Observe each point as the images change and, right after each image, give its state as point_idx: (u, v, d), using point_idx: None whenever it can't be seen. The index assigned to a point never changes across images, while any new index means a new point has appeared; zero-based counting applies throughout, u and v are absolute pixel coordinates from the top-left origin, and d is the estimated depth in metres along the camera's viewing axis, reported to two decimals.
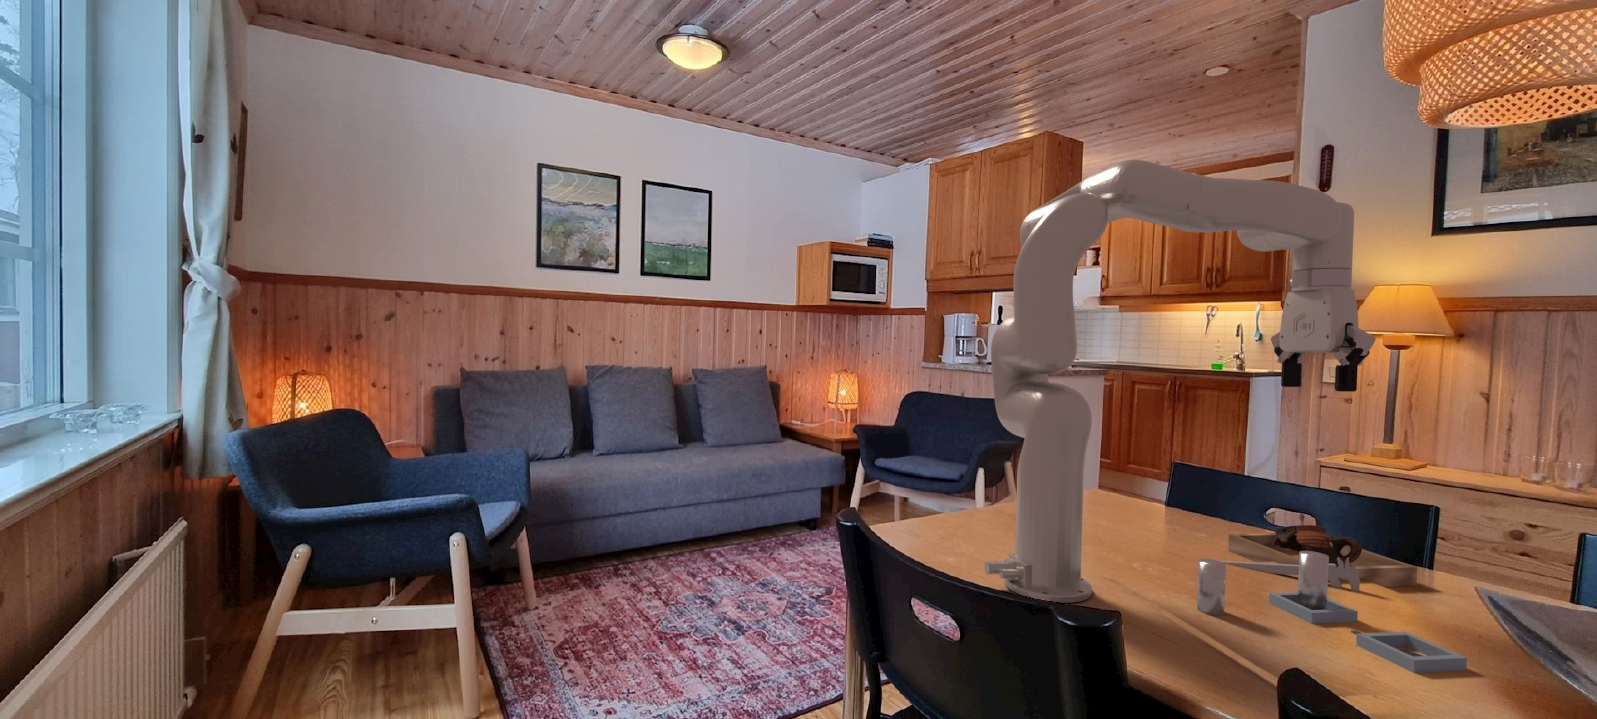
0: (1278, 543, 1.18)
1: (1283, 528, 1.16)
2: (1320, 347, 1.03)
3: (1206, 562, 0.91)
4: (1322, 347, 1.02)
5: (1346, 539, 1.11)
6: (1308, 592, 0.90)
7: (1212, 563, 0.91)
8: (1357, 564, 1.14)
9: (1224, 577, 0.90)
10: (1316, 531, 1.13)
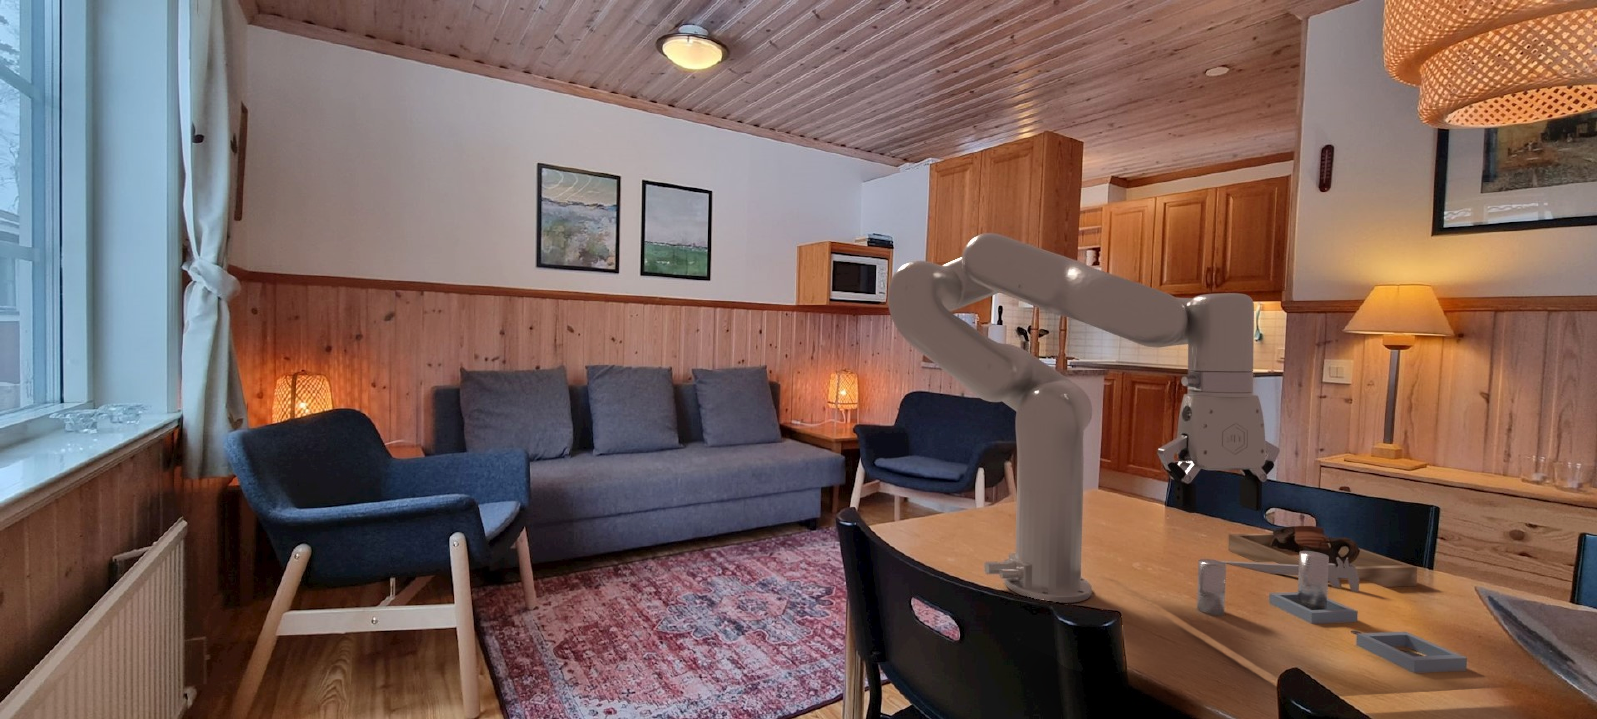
0: (1276, 544, 1.18)
1: (1281, 529, 1.15)
2: (1255, 464, 0.88)
3: (1206, 562, 0.91)
4: (1257, 463, 0.88)
5: (1344, 539, 1.10)
6: (1308, 592, 0.90)
7: (1212, 563, 0.91)
8: (1357, 564, 1.14)
9: (1224, 577, 0.90)
10: (1314, 532, 1.13)
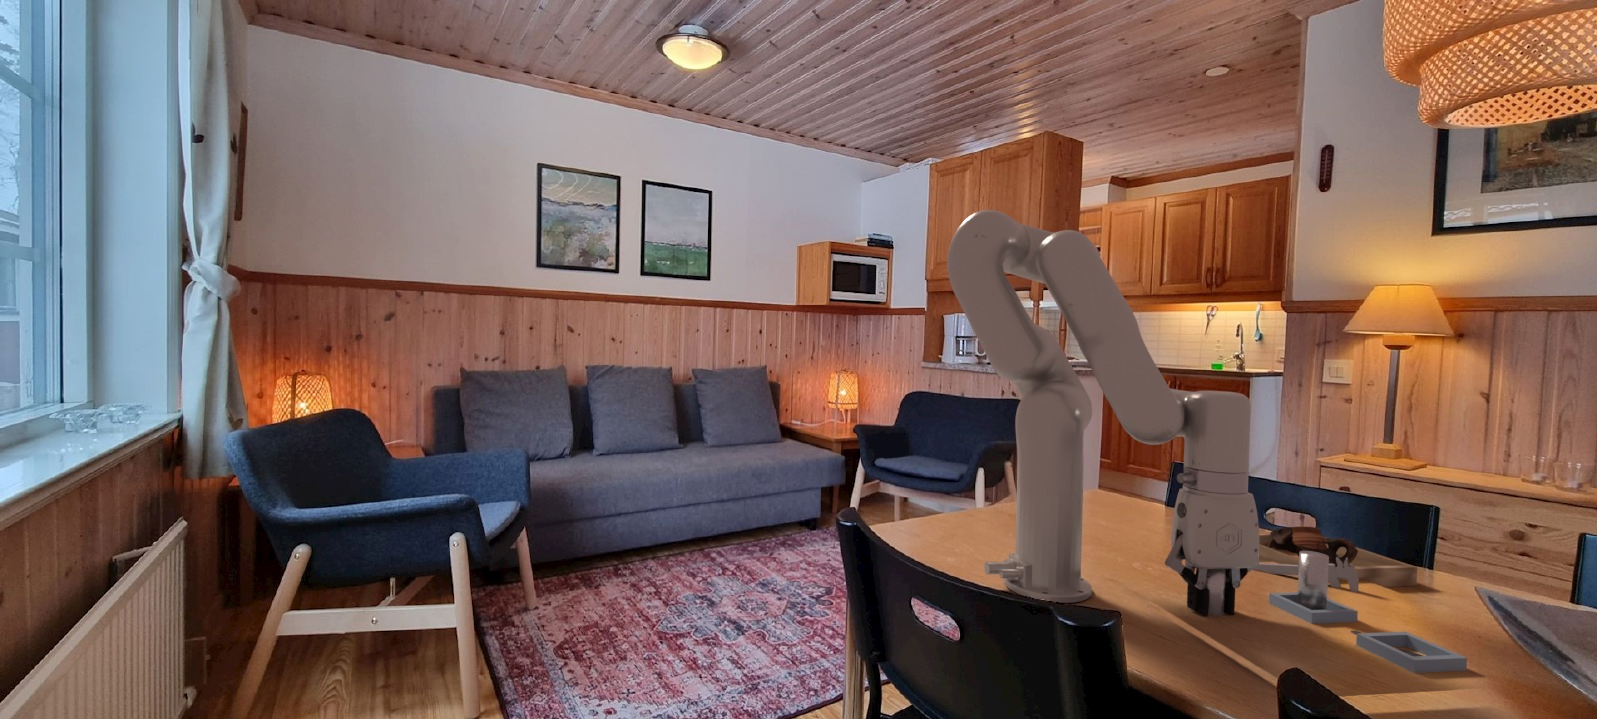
0: (1273, 545, 1.17)
1: (1279, 530, 1.15)
2: (1248, 563, 0.88)
3: None
4: (1251, 563, 0.88)
5: (1341, 540, 1.10)
6: (1308, 592, 0.90)
7: None
8: (1357, 564, 1.14)
9: (1224, 577, 0.90)
10: (1312, 532, 1.12)
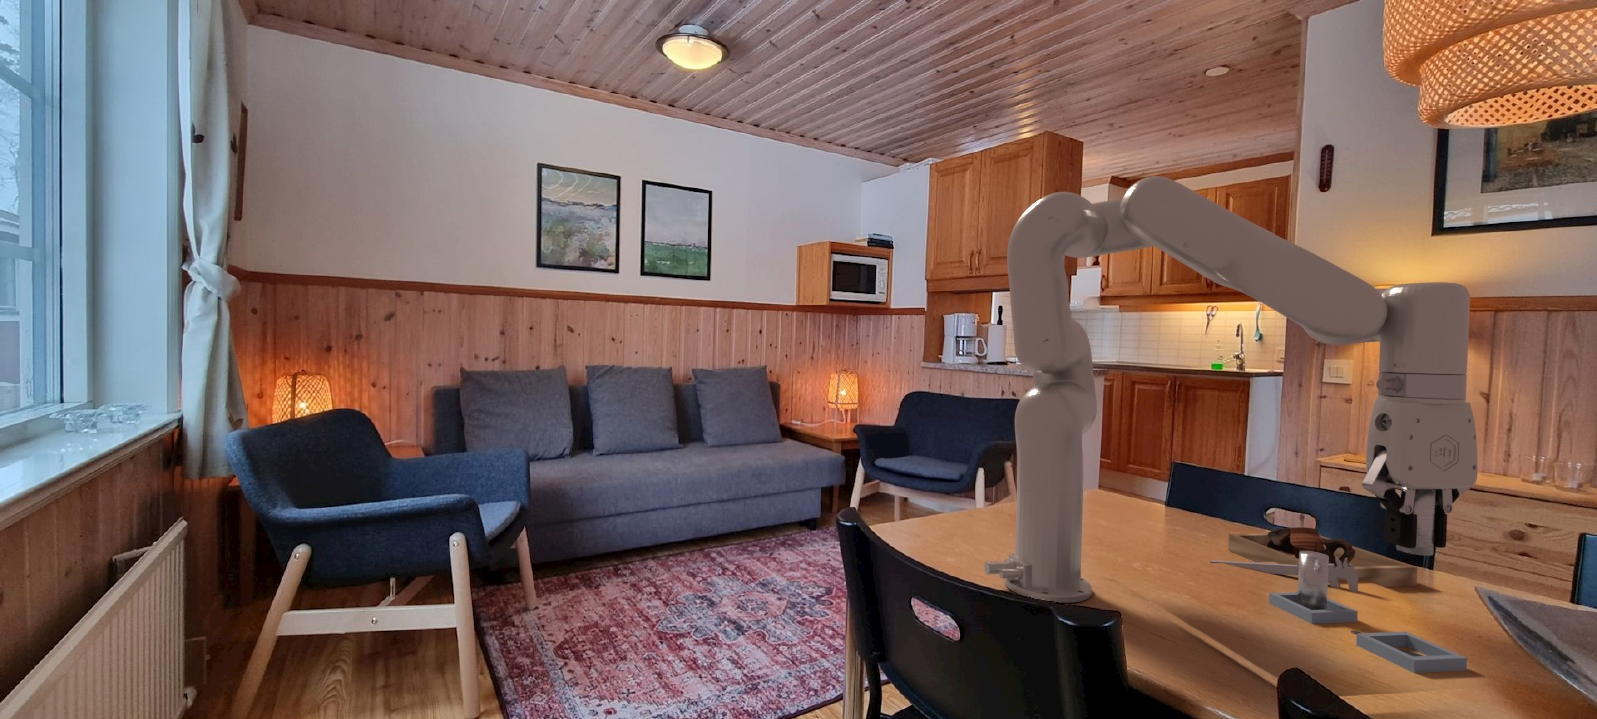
0: (1271, 546, 1.17)
1: (1276, 530, 1.14)
2: (1466, 482, 0.75)
3: None
4: (1469, 482, 0.75)
5: (1339, 541, 1.10)
6: (1308, 592, 0.90)
7: None
8: (1357, 564, 1.14)
9: (1434, 499, 0.76)
10: (1309, 533, 1.12)
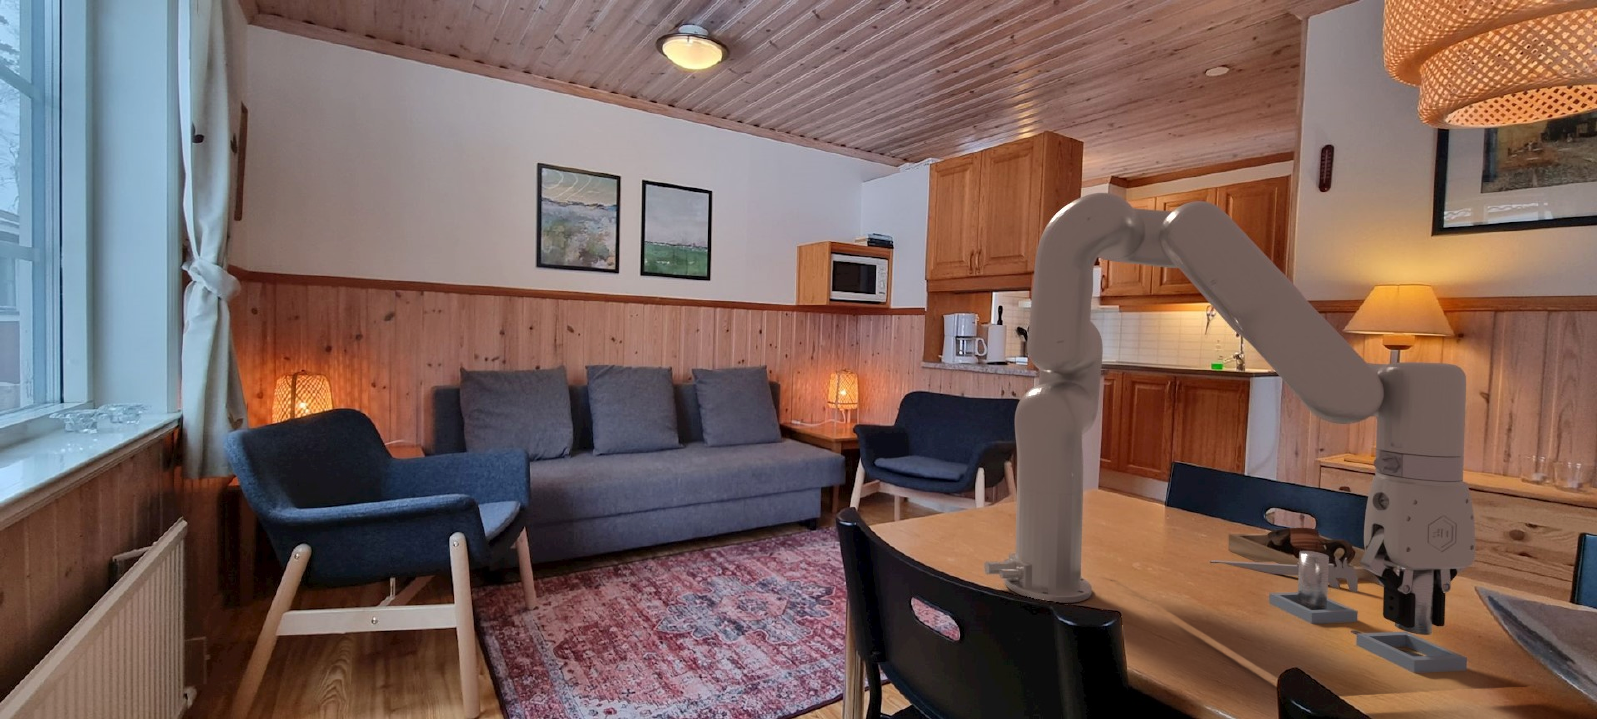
0: (1270, 546, 1.17)
1: (1276, 531, 1.14)
2: (1464, 562, 0.75)
3: None
4: (1466, 562, 0.75)
5: (1339, 541, 1.09)
6: (1308, 592, 0.90)
7: None
8: (1357, 564, 1.14)
9: (1433, 578, 0.77)
10: (1310, 534, 1.11)
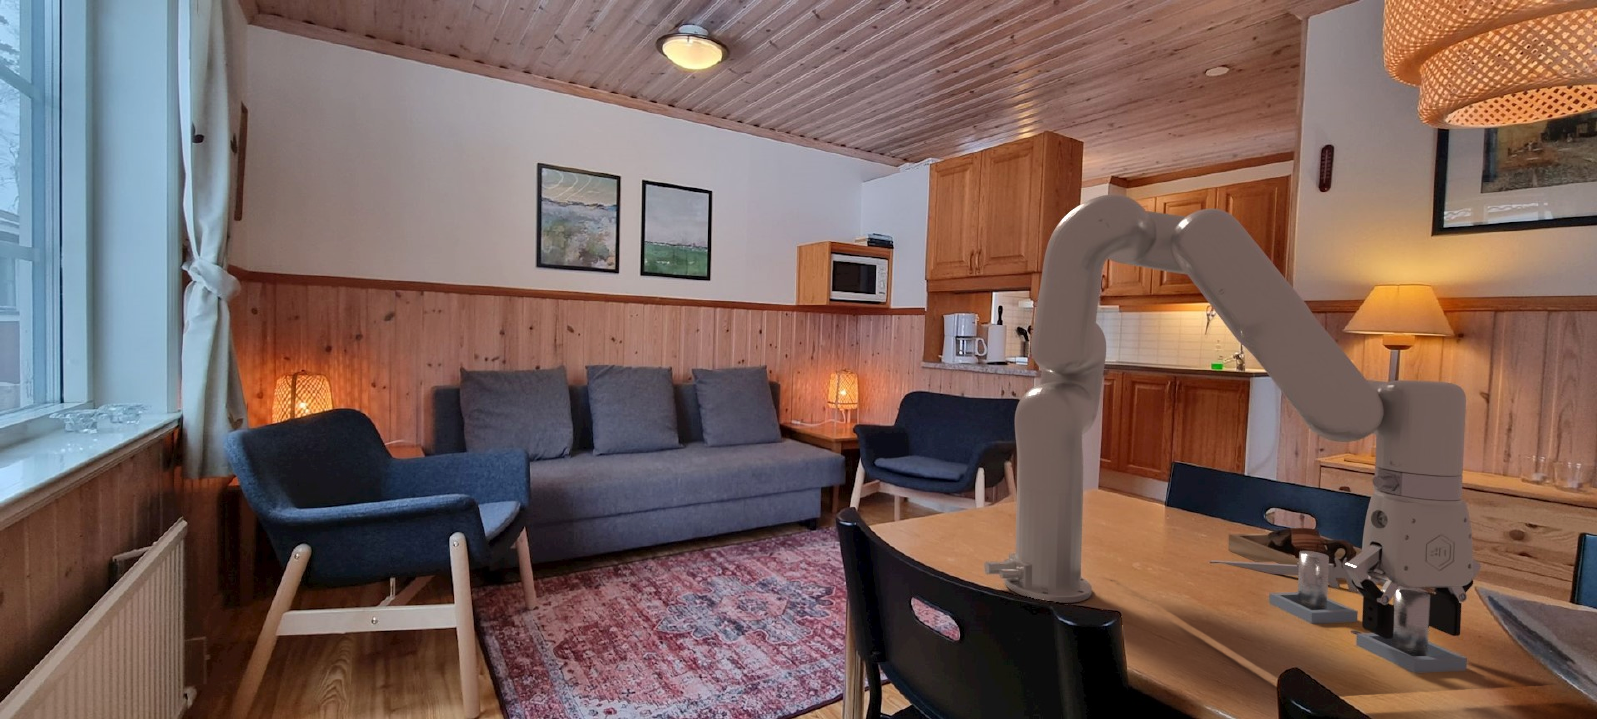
0: (1271, 546, 1.16)
1: (1277, 531, 1.14)
2: (1461, 581, 0.76)
3: (1404, 589, 0.78)
4: (1464, 581, 0.76)
5: (1340, 541, 1.09)
6: (1308, 592, 0.90)
7: (1412, 590, 0.78)
8: None
9: (1429, 607, 0.77)
10: (1311, 534, 1.11)
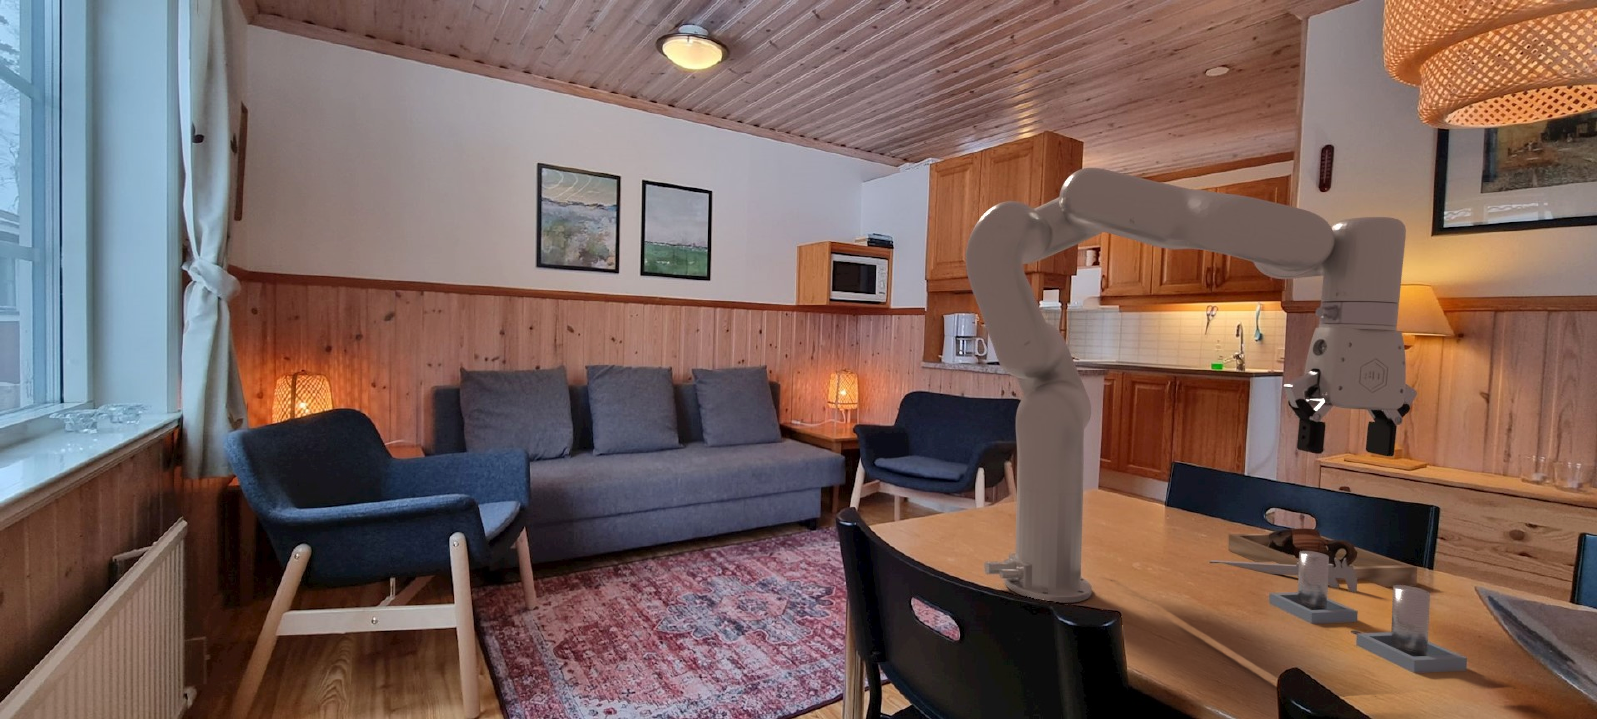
0: (1272, 547, 1.16)
1: (1278, 532, 1.14)
2: (1393, 404, 0.81)
3: (1404, 589, 0.78)
4: (1395, 404, 0.81)
5: (1341, 542, 1.09)
6: (1308, 592, 0.90)
7: (1412, 590, 0.78)
8: (1357, 564, 1.14)
9: (1428, 607, 0.77)
10: (1312, 534, 1.11)
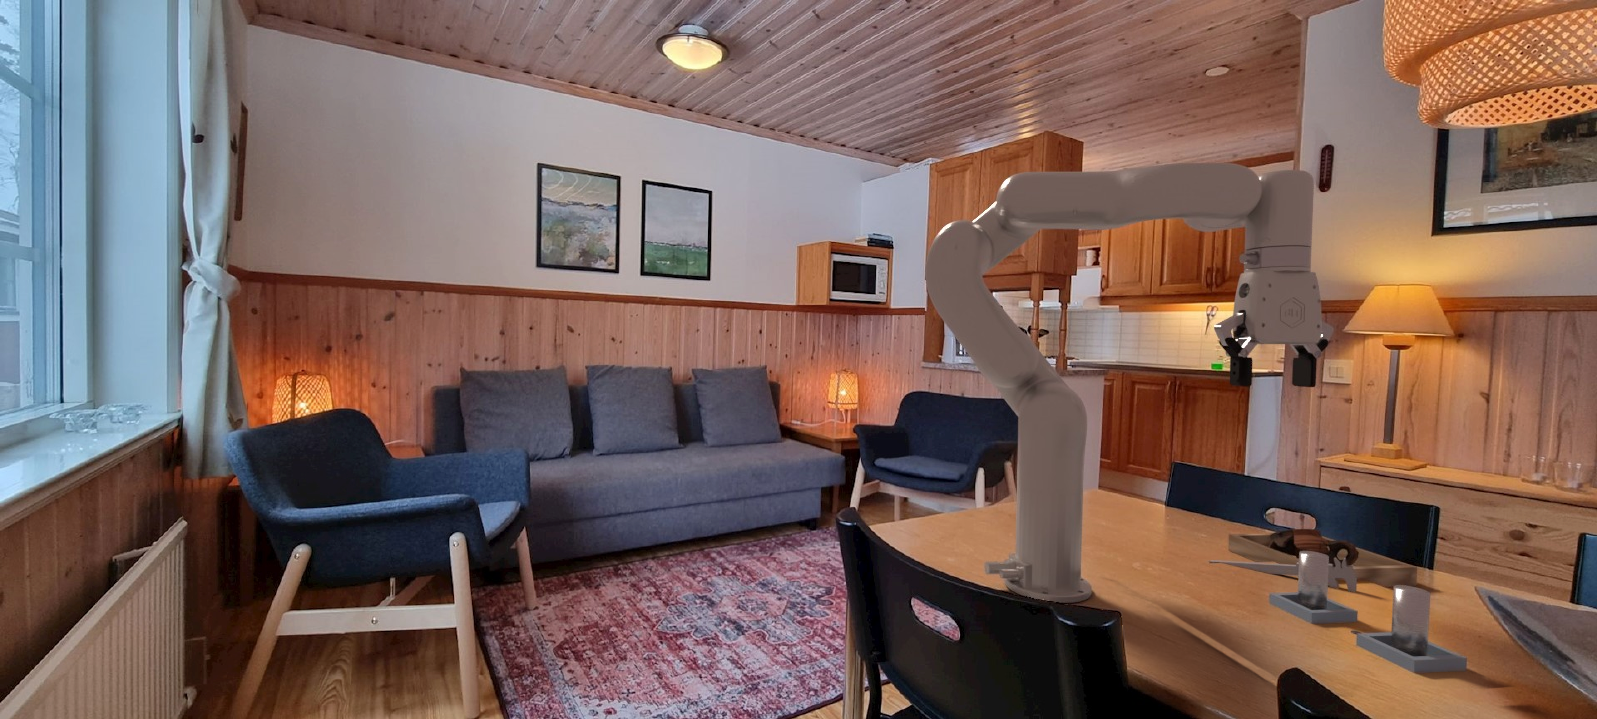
0: (1273, 547, 1.16)
1: (1279, 532, 1.13)
2: (1311, 338, 0.90)
3: (1404, 589, 0.78)
4: (1313, 338, 0.90)
5: (1343, 542, 1.09)
6: (1308, 592, 0.90)
7: (1412, 590, 0.78)
8: (1357, 564, 1.14)
9: (1429, 607, 0.77)
10: (1313, 535, 1.11)
